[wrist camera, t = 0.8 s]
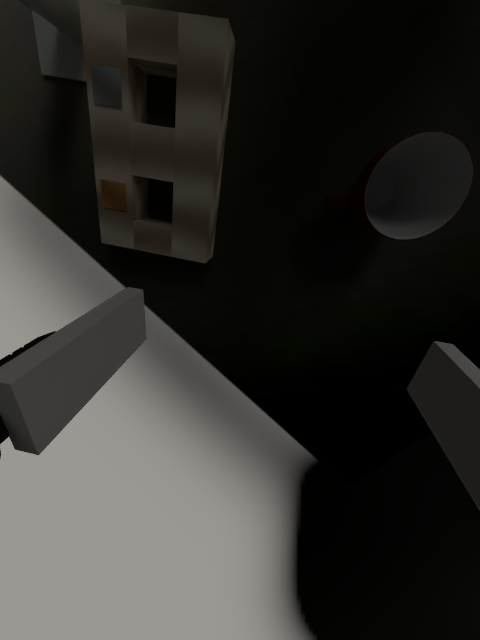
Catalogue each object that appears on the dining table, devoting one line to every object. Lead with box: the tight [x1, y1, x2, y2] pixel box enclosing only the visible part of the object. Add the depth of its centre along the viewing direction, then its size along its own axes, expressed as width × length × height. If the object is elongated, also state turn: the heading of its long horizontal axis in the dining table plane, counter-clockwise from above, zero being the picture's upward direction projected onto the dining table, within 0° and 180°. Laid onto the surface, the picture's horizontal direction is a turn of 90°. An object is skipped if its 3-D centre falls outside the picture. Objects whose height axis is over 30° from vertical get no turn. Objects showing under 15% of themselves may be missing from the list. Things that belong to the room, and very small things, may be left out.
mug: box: [324, 130, 474, 240], centre depth 26 cm, size 11×8×10 cm
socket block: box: [79, 0, 236, 263], centre depth 30 cm, size 22×14×4 cm, turn 170°
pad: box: [32, 0, 123, 82], centre depth 27 cm, size 10×10×1 cm
